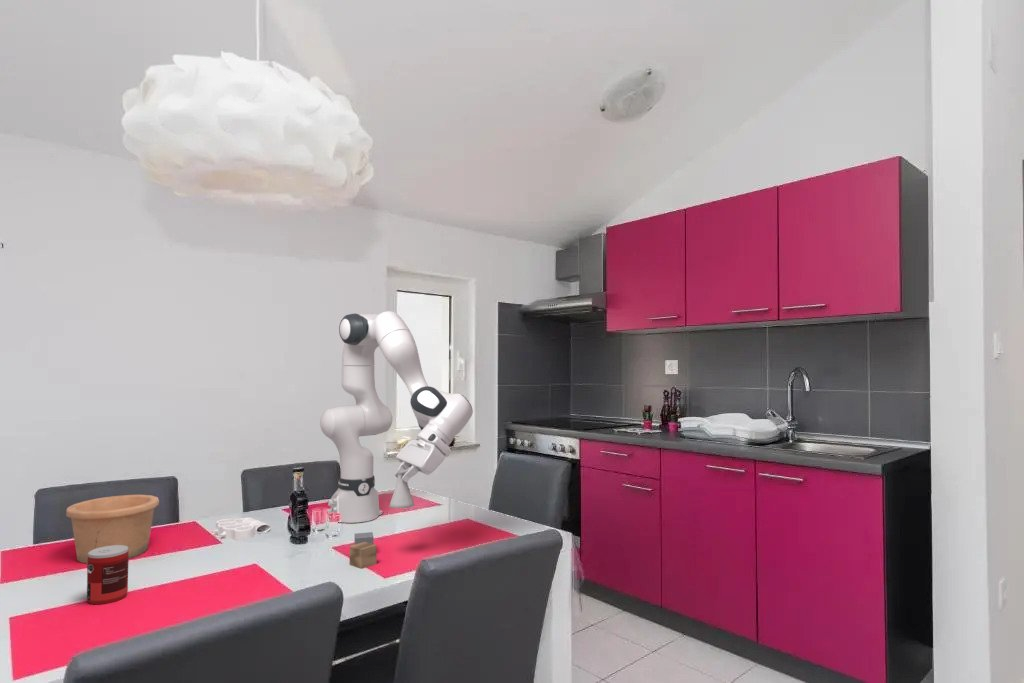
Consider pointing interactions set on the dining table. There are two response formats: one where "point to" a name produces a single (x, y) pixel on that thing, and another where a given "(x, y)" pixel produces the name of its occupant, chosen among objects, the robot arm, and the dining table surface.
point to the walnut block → (363, 555)
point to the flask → (401, 493)
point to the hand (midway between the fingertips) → (399, 478)
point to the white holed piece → (240, 528)
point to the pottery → (112, 523)
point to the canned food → (107, 574)
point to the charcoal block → (364, 538)
